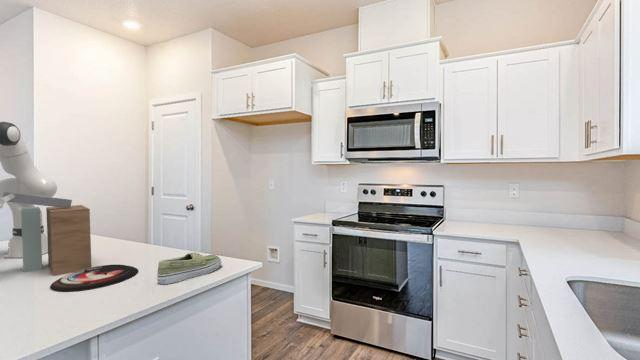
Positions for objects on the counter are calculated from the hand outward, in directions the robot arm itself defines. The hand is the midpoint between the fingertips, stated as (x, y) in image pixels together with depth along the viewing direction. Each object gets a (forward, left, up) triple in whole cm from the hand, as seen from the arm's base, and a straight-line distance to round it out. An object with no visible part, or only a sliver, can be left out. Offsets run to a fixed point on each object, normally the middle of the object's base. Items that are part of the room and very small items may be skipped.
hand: (13, 194), depth 135 cm
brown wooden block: (+1, +17, -33) cm, 37 cm away
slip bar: (+1, +7, -5) cm, 9 cm away
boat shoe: (+50, +52, -33) cm, 80 cm away
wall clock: (+28, +23, -34) cm, 49 cm away
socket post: (-7, +5, -33) cm, 34 cm away
